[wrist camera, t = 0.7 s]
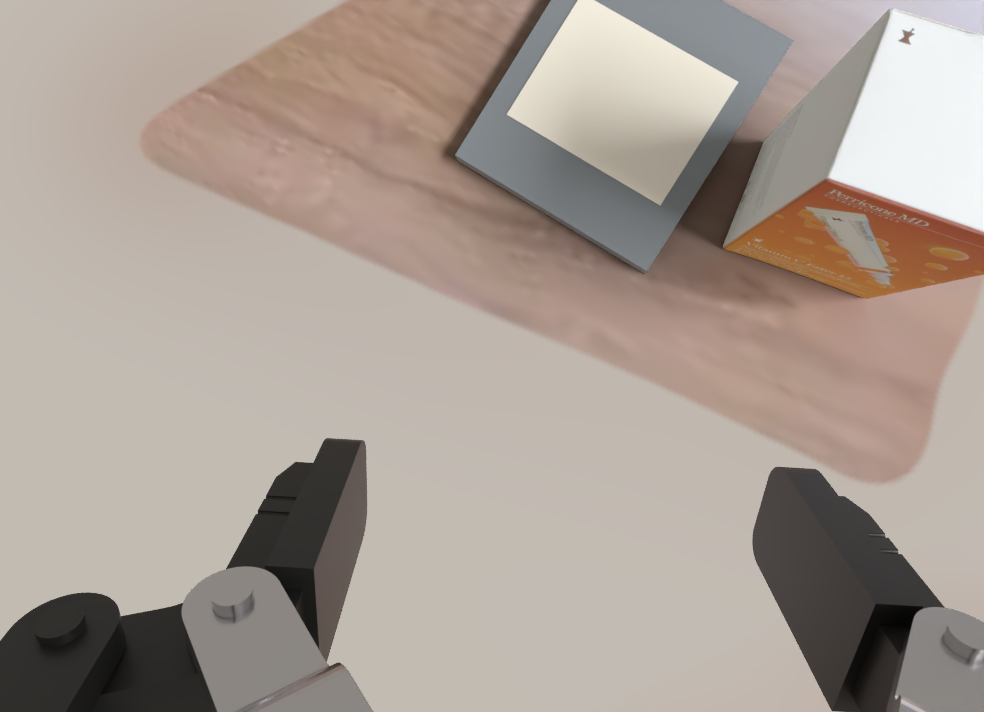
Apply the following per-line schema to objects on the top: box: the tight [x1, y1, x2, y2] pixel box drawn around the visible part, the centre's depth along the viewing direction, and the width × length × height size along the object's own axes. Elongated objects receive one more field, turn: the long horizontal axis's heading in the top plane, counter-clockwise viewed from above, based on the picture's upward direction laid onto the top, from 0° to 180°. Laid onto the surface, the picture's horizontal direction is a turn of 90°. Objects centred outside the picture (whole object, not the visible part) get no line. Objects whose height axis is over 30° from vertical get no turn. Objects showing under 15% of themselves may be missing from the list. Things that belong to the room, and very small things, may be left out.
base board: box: [455, 0, 794, 274], centre depth 35 cm, size 14×12×1 cm
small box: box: [723, 8, 984, 299], centre depth 28 cm, size 8×6×13 cm
